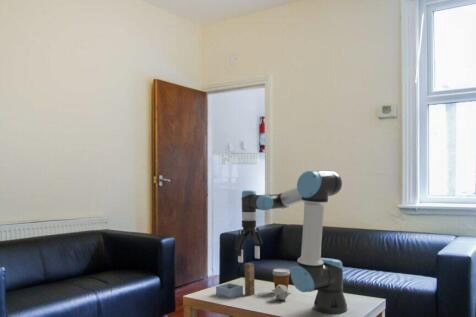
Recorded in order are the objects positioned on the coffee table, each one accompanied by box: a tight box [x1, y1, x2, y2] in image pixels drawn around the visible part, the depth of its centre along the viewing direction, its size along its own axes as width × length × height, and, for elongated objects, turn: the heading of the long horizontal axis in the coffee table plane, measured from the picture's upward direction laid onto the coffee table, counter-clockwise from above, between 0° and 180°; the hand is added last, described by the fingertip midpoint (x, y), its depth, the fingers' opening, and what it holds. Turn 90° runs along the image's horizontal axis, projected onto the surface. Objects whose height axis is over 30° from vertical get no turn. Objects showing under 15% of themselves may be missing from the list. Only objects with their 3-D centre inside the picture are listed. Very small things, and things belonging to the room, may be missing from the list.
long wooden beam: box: [244, 262, 255, 297], centre depth 235 cm, size 4×4×16 cm
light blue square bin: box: [215, 282, 244, 299], centre depth 235 cm, size 10×10×4 cm
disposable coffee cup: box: [272, 268, 291, 290], centre depth 238 cm, size 10×10×12 cm
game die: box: [271, 283, 292, 302], centre depth 224 cm, size 9×8×10 cm
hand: (249, 260), depth 236 cm, fingers open, 13 cm apart
